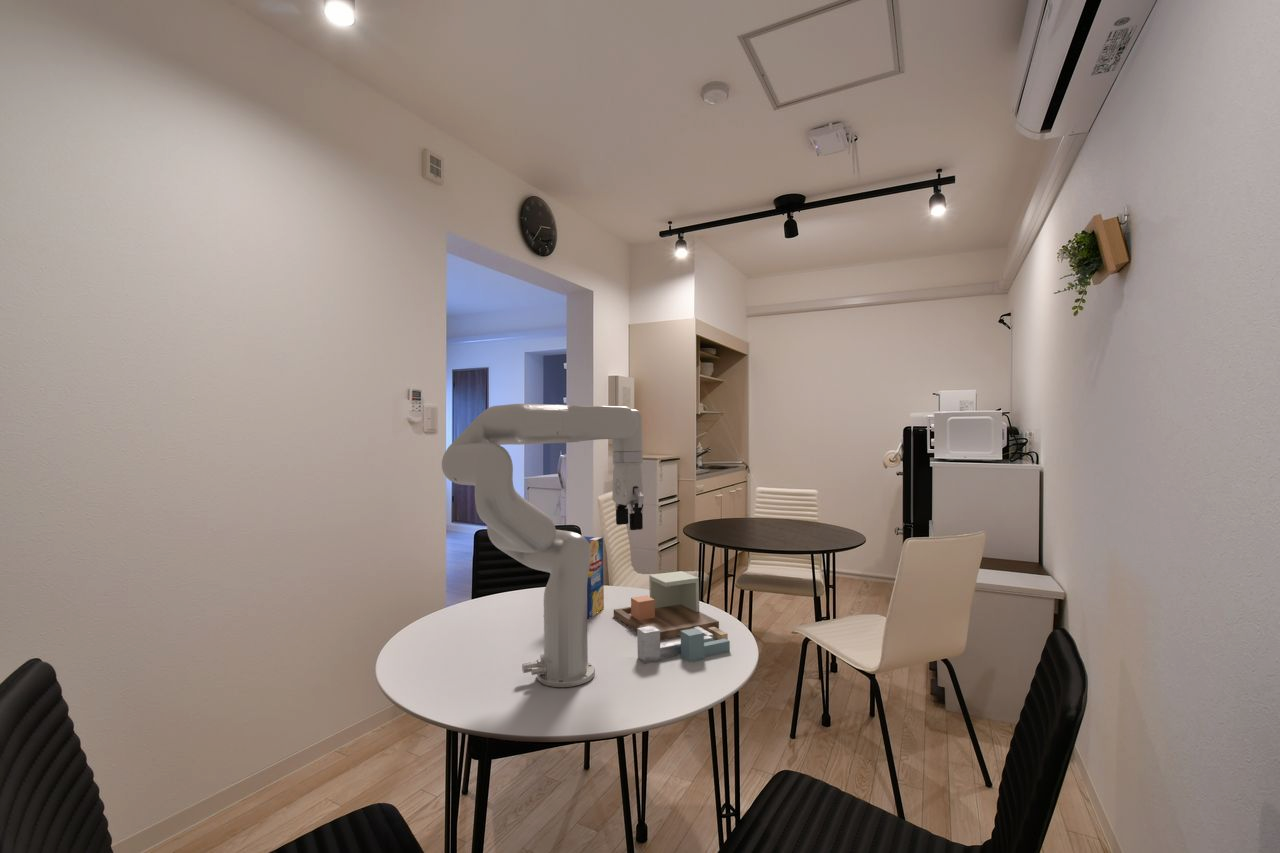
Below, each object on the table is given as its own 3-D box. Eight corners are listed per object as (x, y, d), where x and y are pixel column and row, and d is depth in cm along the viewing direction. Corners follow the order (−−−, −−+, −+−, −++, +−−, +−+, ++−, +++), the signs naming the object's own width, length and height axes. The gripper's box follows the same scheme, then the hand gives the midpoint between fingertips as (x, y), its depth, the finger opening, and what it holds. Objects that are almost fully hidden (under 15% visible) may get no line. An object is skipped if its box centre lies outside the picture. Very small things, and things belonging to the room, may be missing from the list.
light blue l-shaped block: (689, 661, 130) (689, 635, 130) (680, 656, 133) (680, 630, 133) (732, 652, 135) (731, 627, 135) (722, 647, 138) (722, 623, 139)
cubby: (666, 617, 156) (665, 582, 157) (649, 608, 165) (649, 575, 166) (699, 611, 161) (698, 577, 162) (681, 603, 170) (681, 571, 171)
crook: (645, 663, 129) (644, 633, 129) (627, 649, 138) (626, 621, 138) (720, 648, 138) (719, 619, 138) (698, 635, 147) (698, 609, 147)
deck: (650, 641, 143) (650, 633, 143) (613, 616, 165) (613, 609, 165) (719, 628, 152) (718, 621, 152) (675, 606, 174) (675, 599, 174)
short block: (727, 643, 142) (727, 633, 142) (721, 644, 141) (721, 634, 141) (714, 636, 147) (714, 626, 147) (708, 637, 146) (708, 627, 146)
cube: (638, 620, 154) (638, 602, 154) (631, 615, 159) (630, 597, 159) (654, 617, 156) (654, 599, 157) (646, 612, 161) (646, 595, 161)
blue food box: (604, 608, 172) (603, 537, 173) (588, 619, 162) (587, 543, 163) (584, 606, 175) (583, 536, 175) (567, 617, 164) (566, 542, 165)
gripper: (602, 458, 147) (603, 523, 146) (625, 460, 131) (627, 533, 130) (629, 457, 150) (630, 521, 149) (655, 459, 134) (656, 530, 133)
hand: (629, 526), depth 140 cm, fingers open, 9 cm apart
